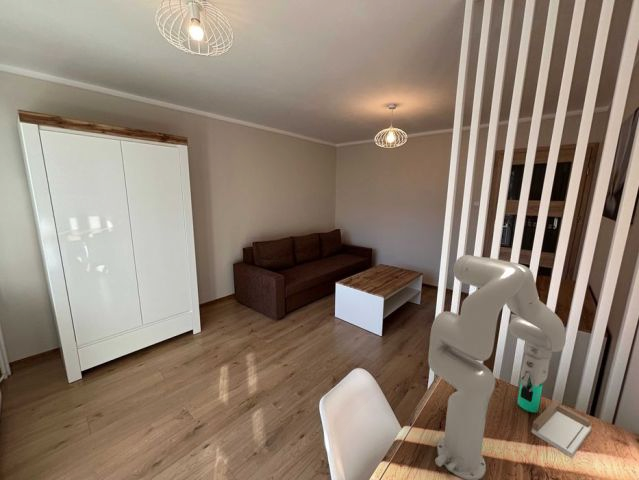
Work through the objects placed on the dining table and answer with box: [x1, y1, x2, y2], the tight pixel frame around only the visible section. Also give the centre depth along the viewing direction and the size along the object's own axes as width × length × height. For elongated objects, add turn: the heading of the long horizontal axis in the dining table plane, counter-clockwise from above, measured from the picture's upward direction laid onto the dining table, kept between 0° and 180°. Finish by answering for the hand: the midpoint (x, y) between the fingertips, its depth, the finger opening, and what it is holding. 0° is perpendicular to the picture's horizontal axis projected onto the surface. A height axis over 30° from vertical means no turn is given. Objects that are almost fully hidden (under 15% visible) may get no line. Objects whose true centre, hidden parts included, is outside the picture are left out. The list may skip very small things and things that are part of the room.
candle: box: [517, 379, 544, 413], centre depth 96 cm, size 6×6×12 cm
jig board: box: [531, 400, 592, 458], centre depth 87 cm, size 18×10×4 cm, turn 122°
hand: (529, 395), depth 96 cm, fingers closed on candle, 4 cm apart
